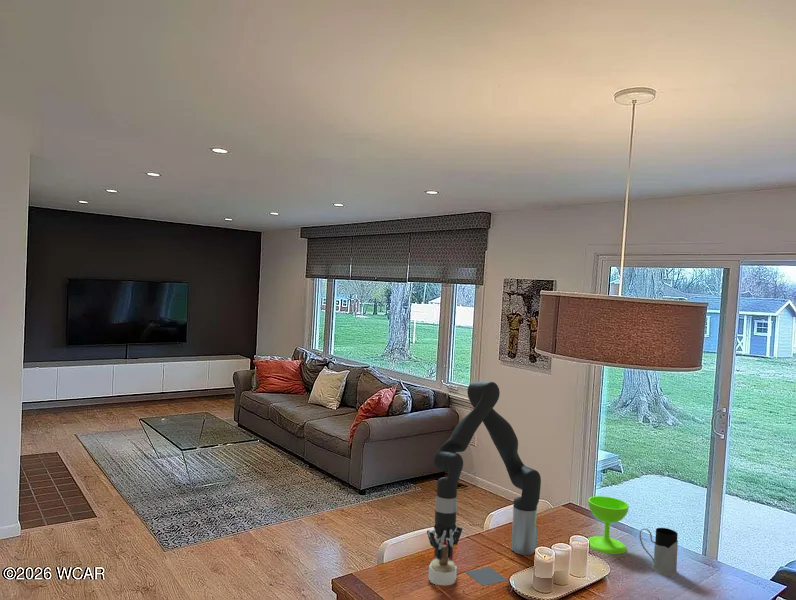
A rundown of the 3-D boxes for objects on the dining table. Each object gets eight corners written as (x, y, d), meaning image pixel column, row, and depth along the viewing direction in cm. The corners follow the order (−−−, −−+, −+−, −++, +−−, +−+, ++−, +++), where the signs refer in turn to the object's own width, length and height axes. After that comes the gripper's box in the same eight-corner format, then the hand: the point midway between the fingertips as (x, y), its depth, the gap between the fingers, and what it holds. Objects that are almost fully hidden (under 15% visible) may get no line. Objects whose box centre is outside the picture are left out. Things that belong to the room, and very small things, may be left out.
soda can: (451, 572, 205) (453, 539, 206) (432, 569, 207) (434, 536, 207) (453, 563, 212) (455, 531, 213) (435, 561, 214) (436, 529, 214)
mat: (489, 568, 210) (489, 566, 210) (508, 581, 201) (508, 580, 201) (464, 573, 205) (464, 571, 205) (482, 587, 196) (482, 585, 196)
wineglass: (634, 549, 235) (636, 505, 235) (611, 557, 226) (613, 511, 226) (601, 535, 248) (603, 494, 248) (578, 542, 239) (580, 499, 239)
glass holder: (673, 578, 209) (675, 538, 210) (634, 565, 219) (636, 526, 219) (680, 571, 216) (682, 532, 216) (642, 559, 225) (644, 521, 226)
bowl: (446, 572, 205) (446, 558, 205) (460, 583, 197) (461, 570, 197) (424, 576, 201) (424, 563, 201) (438, 588, 193) (438, 574, 193)
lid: (446, 559, 205) (447, 540, 205) (459, 569, 197) (460, 549, 197) (426, 563, 201) (427, 543, 201) (439, 573, 193) (440, 553, 193)
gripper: (456, 502, 206) (454, 550, 206) (423, 507, 199) (420, 556, 199) (468, 509, 199) (466, 559, 199) (434, 514, 193) (431, 565, 193)
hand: (443, 557), depth 199 cm, fingers open, 3 cm apart
